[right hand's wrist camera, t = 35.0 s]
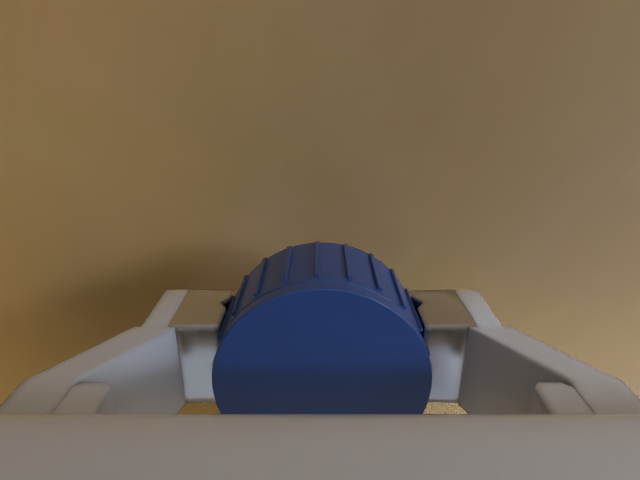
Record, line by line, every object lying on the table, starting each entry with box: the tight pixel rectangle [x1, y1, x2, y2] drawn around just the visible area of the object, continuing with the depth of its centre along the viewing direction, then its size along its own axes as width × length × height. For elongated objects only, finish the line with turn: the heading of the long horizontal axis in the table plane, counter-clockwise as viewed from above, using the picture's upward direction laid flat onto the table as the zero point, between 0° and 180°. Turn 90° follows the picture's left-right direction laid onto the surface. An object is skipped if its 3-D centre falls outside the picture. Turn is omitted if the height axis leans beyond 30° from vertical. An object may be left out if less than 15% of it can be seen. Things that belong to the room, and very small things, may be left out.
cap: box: [212, 241, 432, 414], centre depth 9 cm, size 4×4×2 cm
